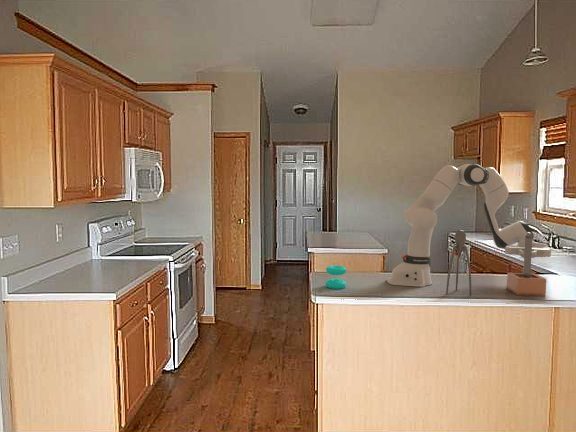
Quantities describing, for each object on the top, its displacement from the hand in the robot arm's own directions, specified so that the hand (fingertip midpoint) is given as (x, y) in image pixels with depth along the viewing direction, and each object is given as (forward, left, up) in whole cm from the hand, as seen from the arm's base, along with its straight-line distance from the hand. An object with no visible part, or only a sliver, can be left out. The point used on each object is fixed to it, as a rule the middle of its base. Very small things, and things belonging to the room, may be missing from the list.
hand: (527, 253), depth 247 cm
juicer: (-33, -3, -19) cm, 38 cm away
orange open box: (0, +1, -19) cm, 19 cm away
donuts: (-90, +2, -19) cm, 92 cm away
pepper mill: (0, +1, -13) cm, 13 cm away
